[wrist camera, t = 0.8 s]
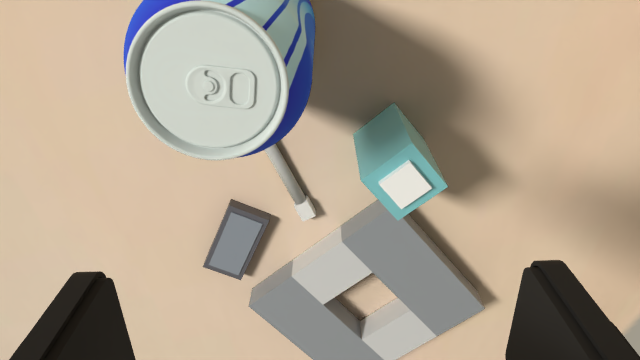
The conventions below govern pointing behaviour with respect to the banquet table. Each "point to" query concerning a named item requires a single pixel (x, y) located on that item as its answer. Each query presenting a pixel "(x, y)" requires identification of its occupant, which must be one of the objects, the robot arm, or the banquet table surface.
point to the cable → (291, 184)
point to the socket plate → (349, 268)
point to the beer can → (220, 72)
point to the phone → (236, 239)
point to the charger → (396, 163)
